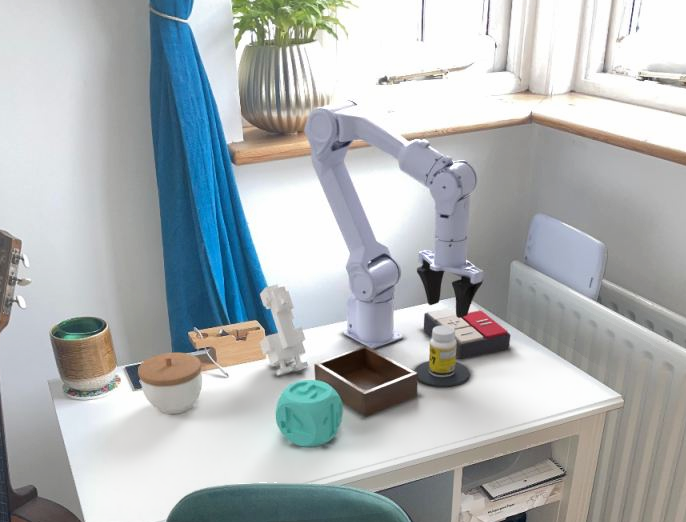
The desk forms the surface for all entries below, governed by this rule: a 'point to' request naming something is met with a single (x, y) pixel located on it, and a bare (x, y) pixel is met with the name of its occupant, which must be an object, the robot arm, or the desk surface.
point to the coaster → (429, 379)
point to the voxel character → (282, 331)
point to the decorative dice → (309, 413)
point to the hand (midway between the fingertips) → (447, 309)
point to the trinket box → (171, 381)
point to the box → (367, 380)
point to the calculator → (470, 331)
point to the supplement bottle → (442, 351)
